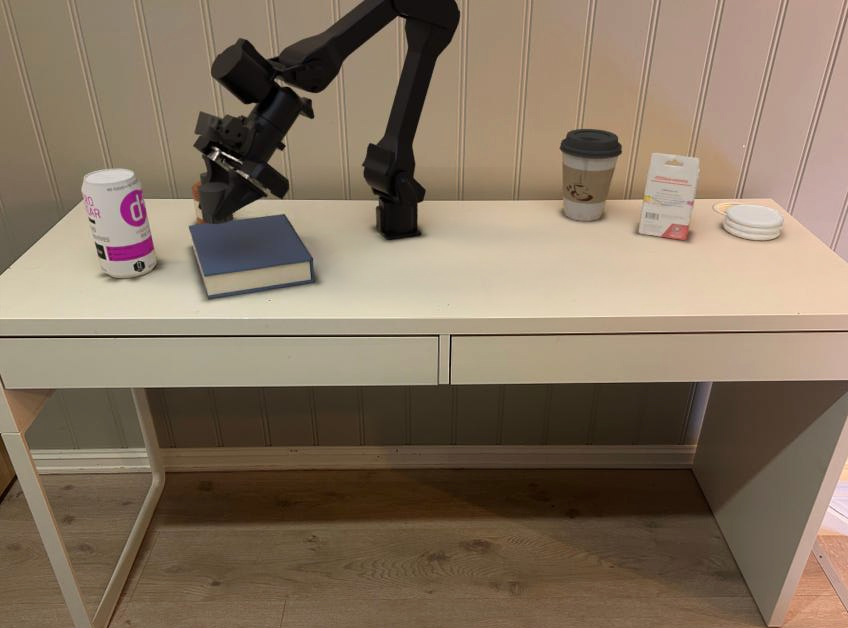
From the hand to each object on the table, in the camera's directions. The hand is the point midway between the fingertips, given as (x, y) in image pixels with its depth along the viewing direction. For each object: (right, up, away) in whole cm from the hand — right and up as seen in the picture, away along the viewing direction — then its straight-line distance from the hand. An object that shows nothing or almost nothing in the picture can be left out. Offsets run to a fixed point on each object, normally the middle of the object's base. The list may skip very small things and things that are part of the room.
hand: (208, 214), depth 105 cm
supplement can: (-16, -7, +10) cm, 20 cm away
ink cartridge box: (+74, +2, +28) cm, 79 cm away
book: (+3, -6, +13) cm, 14 cm away
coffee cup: (+60, +7, +35) cm, 70 cm away
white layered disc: (+90, +3, +29) cm, 95 cm away
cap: (+1, 0, +1) cm, 2 cm away
